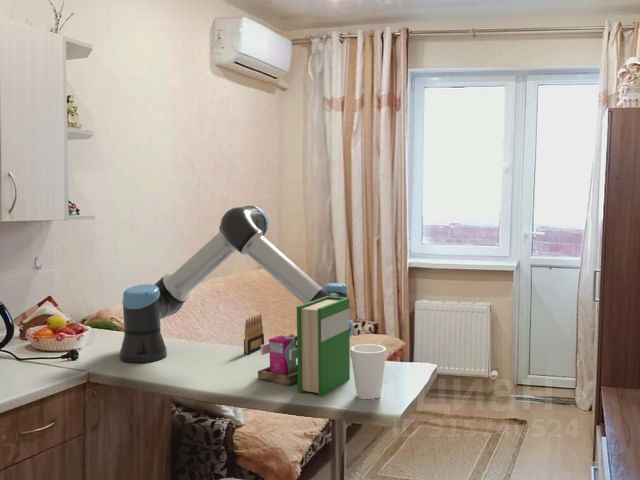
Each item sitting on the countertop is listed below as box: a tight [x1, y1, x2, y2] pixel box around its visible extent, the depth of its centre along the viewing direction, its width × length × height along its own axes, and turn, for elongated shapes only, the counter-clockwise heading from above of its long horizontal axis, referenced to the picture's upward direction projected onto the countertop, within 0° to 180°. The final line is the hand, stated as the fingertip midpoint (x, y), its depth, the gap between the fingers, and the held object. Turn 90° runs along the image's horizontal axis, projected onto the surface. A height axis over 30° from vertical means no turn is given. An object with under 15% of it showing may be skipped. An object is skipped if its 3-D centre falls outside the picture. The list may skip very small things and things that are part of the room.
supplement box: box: [268, 335, 297, 376], centre depth 197 cm, size 6×6×12 cm
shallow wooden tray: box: [257, 364, 298, 387], centre depth 197 cm, size 11×11×2 cm
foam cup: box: [350, 343, 387, 400], centre depth 180 cm, size 10×9×13 cm
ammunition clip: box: [243, 313, 265, 356], centre depth 228 cm, size 11×2×12 cm, turn 155°
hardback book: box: [296, 296, 351, 398], centre depth 188 cm, size 18×7×24 cm, turn 152°
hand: (275, 352), depth 193 cm, fingers open, 10 cm apart
